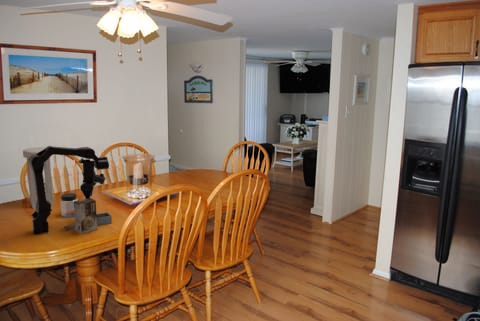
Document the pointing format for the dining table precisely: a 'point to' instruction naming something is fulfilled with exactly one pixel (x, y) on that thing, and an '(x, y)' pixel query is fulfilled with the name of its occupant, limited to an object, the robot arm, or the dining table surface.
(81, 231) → the coffee box
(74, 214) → the lever
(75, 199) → the jar
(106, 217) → the grey open box
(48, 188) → the stool
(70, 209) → the ball
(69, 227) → the catapult base
